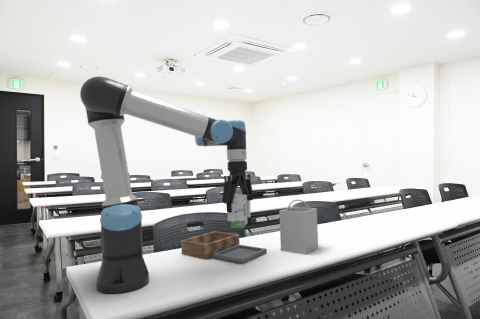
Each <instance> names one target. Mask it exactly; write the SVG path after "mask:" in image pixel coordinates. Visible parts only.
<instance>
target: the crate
mask: <svg viewBox="0 0 480 319" xmlns="http://www.w3.org/2000/svg"><path fill="white" fill-rule="evenodd" d="M180 243H181V244H180V245H181V247H180V248H181V255H182V254H184V255H183V256H187V255H189V256H188V257H192V256H193V257H194V258H198V259H202V260H210V259H213V254H214V253H217V252H220V251H223V250H225V249H228V248H231V247H234V246H236V245H241V244H240V234H239V233H230V232H223V231H211V232H206V233H203V234H200V235H196V236H192V237H190V238H186V239H182V240H181V241H180ZM193 257H192V258H193Z"/></svg>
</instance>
